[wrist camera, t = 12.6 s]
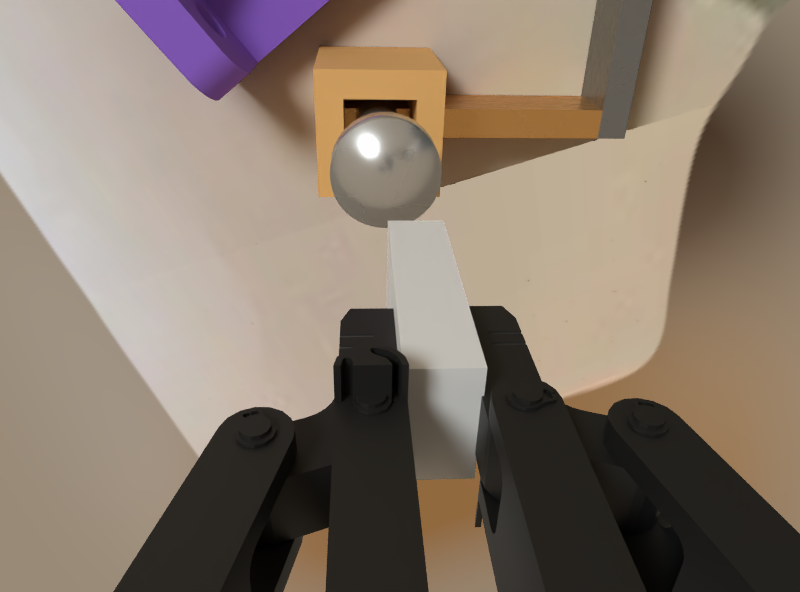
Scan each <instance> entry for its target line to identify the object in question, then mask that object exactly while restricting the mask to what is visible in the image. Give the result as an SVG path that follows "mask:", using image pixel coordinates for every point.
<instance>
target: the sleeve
mask: <svg viewBox="0 0 800 592" xmlns="http://www.w3.org/2000/svg"><path fill="white" fill-rule="evenodd" d="M313 78H314V101H315V124H316V147H317V169H318V192H319V197H335V196H334V193H333V191H332V187H331V183H330V164H331V156H332V151H333V148H334V145H335V143H336V141H337V139H338V137H339V136H340V134H341V133H342V132H343V131H344V129H345V121H344V100H345V99H373V100H407V102H408V105H409V108H410V118H411V119H413V120H415V121H416V122H417V123H419V124H420V125H421V126H422V127H423V128H424V129H425V130H426V131H427V132H428V134H429V135H430V137H431V138H432V140H433V142H434V145H435V147H436V149H437V152H438V154H439V157H440V161H441V163H442V146H443V129H444V112H445V95H446V78H447V70H446V69H445V67H444V66H443V65H442V64H441V62H440V61H439V60H438V58H437V57H436V56H435V54H434V53H433V52H432V51H431V49H430V48H402V47H337V46H320V47H319V50H318V54H317V57H316V61H315V64H314V68H313ZM436 197H440V189H439V191H438V194H437V196H436Z"/></svg>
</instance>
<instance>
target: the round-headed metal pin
mask: <svg viewBox="0 0 800 592" xmlns="http://www.w3.org/2000/svg"><path fill="white" fill-rule="evenodd" d="M441 179H442V166H441V161H440V157H439V154H438V152H437V149H436V147H435V145H434V142H433V140H432V138H431V137H430V135H429V134H428V132H427V131H426V130H425V129H424V128H423V127H422V126H421V125H420V124H419V123H417V122H416V121H415V120H413V119H411V118H409V117H407V116H405V115H402V114H399V113H397V110H396V108H395V106H394V105H393V103H392V102H390V101H389V100H373V99H366V100H365V101H364V102H363V103H362V104H361V105H360V106H359V108H358V110H357V114H356V120H355V121H354V122H352V123H351V124H350V125H349V126H347V127H346V128H345V129H344V131H343V132H342V133H341V134H340V136H339V137H338V139H337V141H336V143H335V145H334V148H333V151H332V156H331V164H330V183H331V187H332V191H333V193H334V196H335V198H336V200H337V201H338V203H339V204H340V206H341V207H342V208H343V209H344V210H345V212H346V213H348V214H349V215H350V216H351V217H353V218H354V219H356V220H357V221H359V222H361V223H364V224H366V225H370V226H374V227H381V228H388V221H413V220H415V219H416V218H418V217H419V216H421V215H422V214H423V213H424V212H425V211H426V210H427V209H428V208H429V207H430V206H431V204H432V203H433V202H434V200H435V198H436V196H437V194H438V191H439V189H440V185H441Z"/></svg>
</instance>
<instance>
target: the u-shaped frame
mask: <svg viewBox="0 0 800 592" xmlns="http://www.w3.org/2000/svg"><path fill="white" fill-rule="evenodd" d="M652 2H653V0H597V4H596V10H595V16H594V22H593V28H592V34H591V40H590V47H589V53H588V59H587V65H586V71H585V77H584V83H583V89H582V95H581V96H505V95H445V112H444V129H443V138H614V139H624V138H625V133H626V128H627V123H628V118H629V113H630V109H631V104H632V99H633V94H634V89H635V84H636V79H637V75H638V70H639V65H640V60H641V55H642V50H643V45H644V41H645V36H646V31H647V26H648V21H649V16H650V12H651V7H652ZM365 100H366V99H345V100H344V121H345V128H346V127H347V126H349V125H350V124H351V123H352V122H354V121H355V120H356V114H357V110H358V108H359V106H360V105H361V104H362V103H363V102H364V101H365ZM389 101H390V102H392V103H393V105H394V106H395V108H396V110H397V113H399V114H402V115H405V116H407V117H409V118H410V108H409V105H408V102H407V100H389Z"/></svg>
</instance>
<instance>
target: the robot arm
mask: <svg viewBox="0 0 800 592" xmlns="http://www.w3.org/2000/svg"><path fill="white" fill-rule="evenodd" d="M525 343H526V342H525V340H524V337H523V335H522V334H521V330H520V327H519V325H518V323H517V320H516V318H515V317H514V316H513V315H512V314H511V313H509V312H508V311H507V310H506V309H505V308H504V307H502V306H469V304H468V301H467V298H466V294H465V291H464V288H463V284H462V281H461V278H460V274H459V271H458V268H457V264H456V261H455V257H454V254H453V251H452V247H451V244H450V241H449V237H448V234H447V231H446V227H445V224H444V221H388V240H387V304H386V309H350V310H349V311H348V312H347V314H346V315H345V316H344V318H343V319H342V320H341V326H340V349H339V356H338V357H337V358H336V360H335V363H334V366H333V369H334V396H335V398H334V400H333V402H332V403H331V404H330V405H329V406H328V407H327V408H325V409H324V410H322V411H321V412H319V413H317V414H315V415H312V416H309V417H307V418H303V419H299V420H295V421H292V419H291V418H290V417H289V416H288V415H286V414H285V413H284V412H283V411H280V410H277V409H273V408H270V407H254V408H250V409H246V410H242V411H239V412H237V413H236V414H234V415H232V416H230V417H228V418H227V419H226V420H225V421H224V422H223V423H222V424H221V425H220V426H219V428H218V429H217V431H216V432H215V434H214V435H213V437H212V439H211V440H210V442H209V443H208V445H207V446H206V448H205V449H204V451H203V453H202V454H201V456H200V457H199V459H198V461H197V462H196V464H195V465H194V467H193V468H192V470H191V471H190V473H189V475H188V476H187V478H186V479H185V481H184V482H183V484H182V485H181V487H180V489H179V490H178V492H177V493H176V495H175V496H174V498H173V499H172V501H171V503H170V504H169V506H168V507H167V509H166V511H165V512H164V514H163V515H162V517H161V518H160V520H159V521H158V523H157V524H156V526H155V528H154V529H153V531H152V532H151V534H150V535H149V537H148V539H147V540H146V542H145V543H144V545H143V546H142V548H141V549H140V551H139V553H138V554H137V556H136V557H135V559H134V560H133V562H132V564H131V565H130V567H129V568H128V570H127V571H126V573H125V575H124V576H123V578H122V579H121V581H120V582H119V584H118V585H117V587H116V589H115V590H114V592H283V591H284V588H285V585H286V583H287V580H288V578H289V575H290V572H291V570H292V567H293V564H294V562H295V559H296V557H297V554H298V551H299V548H300V546H301V543H302V538H303V536H304V535H307V534H310V533H313V532H316V531H319V530H322V529H325V528H328V527H329V533H328V553H327V554H328V555H327V575H326V592H428V582H427V573H426V564H425V555H424V546H423V537H422V528H421V518H420V510H419V500H418V491H417V482H416V480H432V479H467V478H468V479H469V478H474V477H475V468H476V460H477V464H478V469H479V473H480V486H479V494H478V502H477V510H476V520H475V527H481V521H482V519H483V523H484V528H485V533H486V538H487V542H488V547H489V552H490V557H491V561H492V566H493V571H494V576H495V581H496V585H497V590H498V592H800V534H799V533H798V532H797V531H796V530H795V529H794V528H793V527H792V526H791V525H790V524H789V523H788V522H787V521H786V520H785V519H784V518H783V517H782V516H781V515H780V514H779V513H778V512H777V511H776V510H775V509H774V508H773V507H772V506H771V505H770V504H769V503H767V502H766V501H765V500H764V499H763V498H762V497H761V496H760V495H759V494H758V493H757V492H756V491H755V490H754V489H753V488H752V487H751V486H750V485H749V484H748V483H747V482H746V481H745V480H744V479H743V478H742V477H741V476H740V475H739V474H738V473H737V472H736V471H735V470H734V469H732V467H731V466H729V464H727V462H725V461H724V460H723V459H722V458H721V457H720V456H719V455H718V454H717V453H716V452H715V451H714V450H713V449H712V448H711V447H710V446H709V445H708V444H707V443H706V442H705V441H704V440H703V439H702V438H701V437H700V436H699V435H698V434H697V433H696V432H695V431H694V430H693V429H692V428H691V427H689V426H688V424H686V423H685V422H684V421H683V420H682V419H681V418H680V417H679V416H678V415H677V414H675V413H674V412H673V411H671V410H670V409H669V408H667V407H665V406H663V405H661V404H658V403H656V402H654V401H650V400H644V399H639V398H635V399H634V398H633V399H623V400H621V401H618V402H616V403H614V404H613V405H612V407H611V408H610V409H609V411H608V415H602V414H597V413H592V412H587V411H583V410H579V409H575V408H572V407H570V406H568V405H565V404H564V401H563V399H562V397H561V396H560V395H559V393H558V392H557V391H556V389H554V388H553V387H551V386H550V385H548V384H547V383H545V382H542V381H541V378H540V376H539V374H538V371H537V369H536V366H535V364H534V361H533V359H532V357H531V354H530V352H529V349H528V347H527V345H526V344H525Z"/></svg>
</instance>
